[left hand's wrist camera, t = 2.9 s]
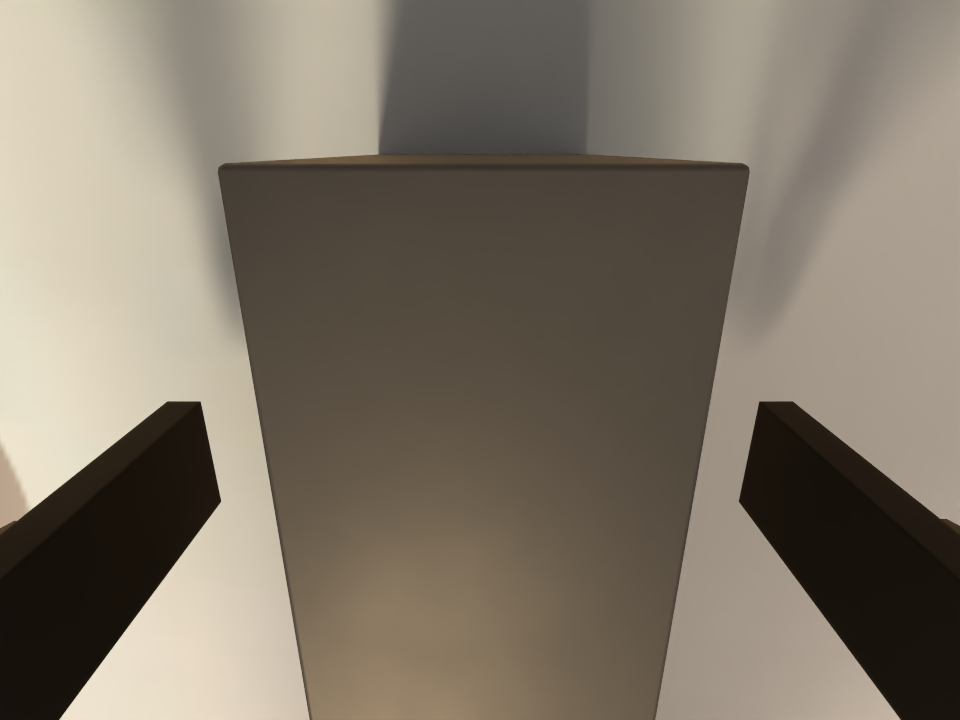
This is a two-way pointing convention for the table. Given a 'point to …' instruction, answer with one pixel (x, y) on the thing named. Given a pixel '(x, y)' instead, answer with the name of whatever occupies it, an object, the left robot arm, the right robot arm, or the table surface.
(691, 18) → the table surface
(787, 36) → the table surface
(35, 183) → the table surface
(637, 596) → the post
